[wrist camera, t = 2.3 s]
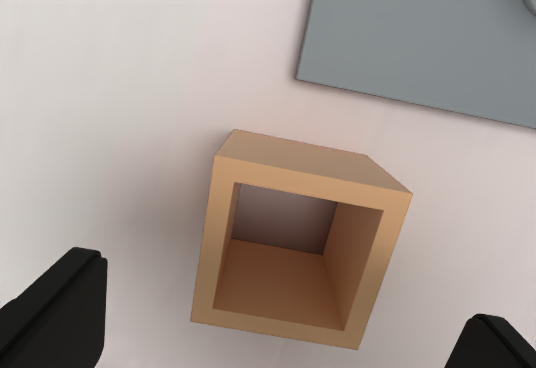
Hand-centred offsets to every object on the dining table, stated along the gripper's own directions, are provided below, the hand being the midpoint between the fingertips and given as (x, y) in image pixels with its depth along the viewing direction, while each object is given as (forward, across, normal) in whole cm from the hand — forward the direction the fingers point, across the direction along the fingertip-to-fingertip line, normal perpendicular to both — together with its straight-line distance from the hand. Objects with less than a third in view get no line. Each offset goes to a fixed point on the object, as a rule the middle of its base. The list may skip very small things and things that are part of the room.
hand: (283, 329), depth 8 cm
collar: (+10, -1, 0) cm, 10 cm away
